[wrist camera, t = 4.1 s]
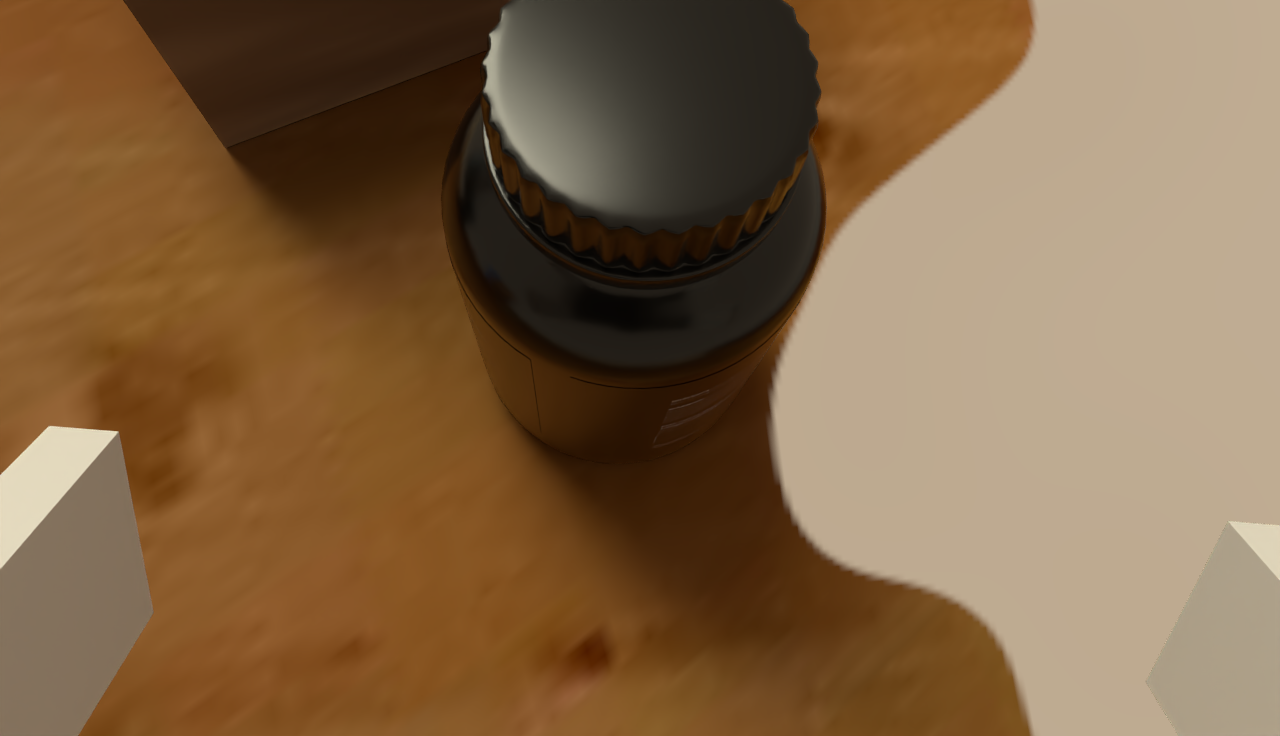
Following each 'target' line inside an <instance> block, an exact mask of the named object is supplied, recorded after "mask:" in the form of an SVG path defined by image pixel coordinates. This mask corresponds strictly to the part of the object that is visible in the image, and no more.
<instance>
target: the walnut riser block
mask: <svg viewBox="0 0 1280 736" xmlns="http://www.w3.org/2000/svg"><path fill="white" fill-rule="evenodd" d="M508 1H510V0H124V2H125V3H126V5H127V6H128V8H129V9H130V11H131V12H132V13H133V15H134V16H135V18H136V19H137V21H138V22H139V24H140V25H141V27H142V28H143V29H144V31H145V32H146V34H147V35H148V37H149V38H150V40H151V41H152V42H153V44H154V45H155V47H156V48H157V50H158V51H159V53H160V54H161V55H162V57H163V58H164V60H165V61H166V63H167V64H168V66H169V67H170V69H171V70H172V71H173V73H174V74H175V76H176V77H177V79H178V80H179V82H180V83H181V84H182V86H183V87H184V89H185V90H186V92H187V93H188V95H189V96H190V97H191V99H192V100H193V102H194V103H195V105H196V106H197V108H198V109H199V111H200V112H201V113H202V115H203V116H204V118H205V119H206V121H207V122H208V124H209V125H210V126H211V128H212V129H213V131H214V132H215V134H216V135H217V137H218V138H219V139H220V141H221V142H222V144H223V145H224V147H225V148H227V147H229V146H232V145H235V144H237V143H240V142H243V141H245V140H248V139H251V138H253V137H256V136H259V135H261V134H264V133H267V132H270V131H272V130H275V129H278V128H280V127H283V126H286V125H288V124H291V123H294V122H296V121H299V120H302V119H304V118H307V117H310V116H312V115H315V114H318V113H320V112H323V111H326V110H328V109H331V108H334V107H336V106H339V105H342V104H344V103H347V102H350V101H352V100H355V99H358V98H361V97H363V96H366V95H369V94H371V93H374V92H377V91H379V90H382V89H385V88H387V87H390V86H393V85H395V84H398V83H401V82H403V81H406V80H409V79H411V78H414V77H417V76H419V75H422V74H425V73H427V72H430V71H433V70H435V69H438V68H441V67H443V66H446V65H449V64H452V63H454V62H457V61H460V60H462V59H465V58H468V57H470V56H473V55H476V54H478V53H481V52H484V51H486V50H487V36H488V34H489V32H490V31H491V30H492V29H493V28H494V26H495V25H496V24H497V23H498V19H499V12H500V8H501V7H502V6H503V5H505V4H506V3H507V2H508Z"/></svg>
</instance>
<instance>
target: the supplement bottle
mask: <svg viewBox="0 0 1280 736" xmlns="http://www.w3.org/2000/svg"><path fill="white" fill-rule="evenodd" d="M817 68H818V61H817V60H816V58H815V56H814V55H813V53H812V52H811V51H810V49H809V34H808V33H807V32H806V31H805V30H804V29H803V28H802V27H801V26H800V25H799V24H798V23H797V20H796V14H795V11H794V8H792V7H791V6H790V5H788V4H787V3H786V2H784V1H783V0H510V1H508V2H507V3H506V4H505V5H503V6H502V7H501V8H500V12H499V19H498V23H497V24H496V25H495V26H494V28H493V29H492V30H491V31H490V32H489V34H488V36H487V53H486V55H485V57H484V59H483V61H482V63H481V67H480V73H481V80H482V86H483V88H482V91H481V92H480V93H479V94H478V95H477V97H476V98H475V100H474V101H473V103H472V104H471V105H470V107H469V108H468V110H467V111H466V113H465V115H464V117H463V119H462V120H461V122H460V124H459V126H458V128H457V130H456V133H455V135H454V138H453V140H452V142H451V145H450V149H449V152H448V156H447V159H446V163H445V168H444V174H443V180H442V193H441V205H442V219H443V226H444V233H445V239H446V244H447V248H448V252H449V255H450V259H451V263H452V266H453V269H454V272H455V275H456V278H457V281H458V284H459V288H460V291H461V294H462V297H463V300H464V303H465V306H466V309H467V312H468V315H469V318H470V321H471V324H472V327H473V330H474V333H475V336H476V339H477V342H478V345H479V348H480V352H481V355H482V358H483V361H484V363H485V366H486V369H487V371H488V374H489V376H490V379H491V381H492V383H493V385H494V387H495V389H496V391H497V393H498V395H499V397H500V398H501V400H502V401H503V403H504V405H505V406H506V407H507V409H508V410H509V411H510V412H511V414H512V415H513V416H514V417H515V419H516V420H517V421H518V422H519V423H520V424H521V425H522V426H523V427H524V428H525V429H527V430H528V431H529V432H530V433H531V434H533V435H534V436H535V437H537V438H538V439H540V440H541V441H542V442H544V443H545V444H547V445H549V446H551V447H553V448H555V449H556V450H559V451H561V452H563V453H566V454H568V455H570V456H574V457H577V458H580V459H584V460H588V461H593V462H599V463H608V464H626V463H637V462H642V461H648V460H652V459H655V458H659V457H662V456H665V455H667V454H670V453H672V452H675V451H677V450H679V449H681V448H683V447H685V446H686V445H688V444H689V443H691V442H693V441H694V440H696V439H697V438H699V437H700V436H701V435H702V434H704V433H705V432H706V431H707V430H708V429H710V428H711V427H712V426H713V425H714V424H715V423H716V422H717V421H718V420H719V419H720V417H721V416H722V415H723V414H724V412H725V411H726V410H727V409H728V407H729V406H730V405H731V404H732V402H733V401H734V400H735V398H736V397H737V395H738V394H739V392H740V391H741V389H742V388H743V386H744V385H745V383H746V382H747V380H748V379H749V377H750V376H751V374H752V373H753V371H754V370H755V368H756V367H757V365H758V364H759V362H760V361H761V359H762V358H763V356H764V355H765V353H766V352H767V350H768V349H769V347H770V346H771V344H772V343H773V341H774V340H775V338H776V337H777V335H778V334H779V332H780V331H781V329H782V328H783V326H784V325H785V323H786V322H787V320H788V319H789V317H790V316H791V314H792V313H793V311H794V310H795V308H796V307H797V305H798V304H799V302H800V300H801V298H802V297H803V295H804V293H805V291H806V289H807V287H808V285H809V283H810V281H811V278H812V276H813V273H814V271H815V268H816V266H817V263H818V260H819V257H820V253H821V249H822V246H823V241H824V234H825V228H826V209H827V206H826V189H825V183H824V177H823V172H822V168H821V164H820V161H819V157H818V154H817V151H816V148H815V146H814V143H813V141H812V138H813V136H814V134H815V132H816V129H817V126H818V116H817V110H816V108H817V105H818V103H819V101H820V98H821V89H820V86H819V84H818V81H817V79H816V74H817Z"/></svg>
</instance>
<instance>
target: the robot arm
mask: <svg viewBox="0 0 1280 736" xmlns="http://www.w3.org/2000/svg"><path fill="white" fill-rule="evenodd" d="M153 613H154V612H153V607H152V602H151V597H150V592H149V586H148V581H147V576H146V571H145V566H144V560H143V555H142V550H141V545H140V540H139V534H138V529H137V524H136V519H135V514H134V508H133V503H132V498H131V493H130V488H129V482H128V477H127V472H126V467H125V462H124V457H123V451H122V446H121V441H120V436H119V432H117V431H105V430H92V429H80V428H67V427H55V426H49V427H48V428H47V429H46V430H45V431H44V432H43V433H42V434H41V435H40V436H39V437H38V438H37V439H36V440H35V441H34V442H33V443H32V444H31V445H30V446H29V447H28V448H27V449H26V450H25V451H24V452H23V453H22V454H21V455H20V456H19V457H18V458H17V459H16V460H15V461H14V462H13V463H12V464H11V465H10V466H9V467H8V468H7V469H6V470H5V471H4V472H3V473H2V474H1V475H0V736H78V735H79V733H80V732H81V730H82V728H83V727H84V725H85V723H86V722H87V720H88V719H89V717H90V715H91V714H92V712H93V710H94V709H95V707H96V706H97V704H98V702H99V701H100V699H101V697H102V696H103V694H104V692H105V691H106V689H107V688H108V686H109V684H110V683H111V681H112V679H113V678H114V676H115V675H116V673H117V671H118V670H119V668H120V666H121V665H122V663H123V662H124V660H125V658H126V657H127V655H128V653H129V652H130V650H131V649H132V647H133V645H134V644H135V642H136V640H137V639H138V637H139V636H140V634H141V632H142V631H143V629H144V627H145V626H146V624H147V623H148V621H149V619H150V618H151V616H152V614H153ZM1146 683H1147V685H1148V686H1149V688H1150V690H1151V691H1152V693H1153V695H1154V696H1155V698H1156V700H1157V701H1158V703H1159V705H1160V706H1161V708H1162V709H1163V711H1164V713H1165V715H1166V716H1167V718H1168V719H1169V721H1170V723H1171V724H1172V726H1173V728H1174V729H1175V731H1176V733H1177V734H1178V736H1280V525H1268V524H1255V523H1243V522H1231V521H1228V522H1227V524H1226V526H1225V528H1224V530H1223V532H1222V534H1221V536H1220V538H1219V540H1218V542H1217V544H1216V545H1215V547H1214V549H1213V551H1212V553H1211V555H1210V557H1209V559H1208V561H1207V563H1206V565H1205V567H1204V569H1203V571H1202V573H1201V575H1200V577H1199V579H1198V581H1197V583H1196V585H1195V586H1194V588H1193V590H1192V592H1191V594H1190V596H1189V598H1188V600H1187V602H1186V604H1185V606H1184V608H1183V610H1182V612H1181V614H1180V616H1179V618H1178V620H1177V622H1176V624H1175V626H1174V628H1173V630H1172V631H1171V634H1170V635H1169V637H1168V639H1167V641H1166V643H1165V645H1164V647H1163V649H1162V651H1161V653H1160V655H1159V657H1158V659H1157V661H1156V663H1155V665H1154V667H1153V669H1152V670H1151V672H1150V674H1149V676H1148V678H1147V680H1146Z"/></svg>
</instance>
